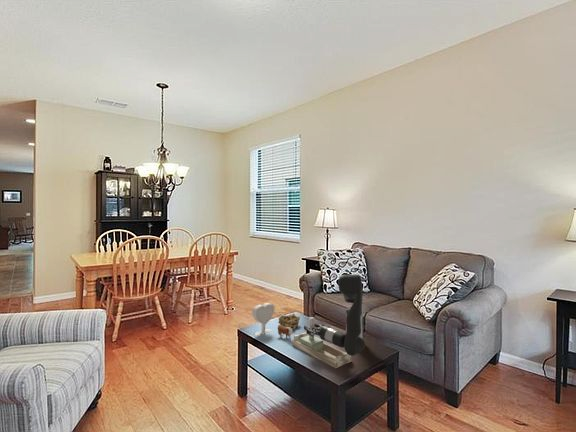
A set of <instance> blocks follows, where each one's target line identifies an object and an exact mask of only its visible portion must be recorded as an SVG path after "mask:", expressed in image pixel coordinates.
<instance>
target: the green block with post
mask: <svg viewBox="0 0 576 432" xmlns="http://www.w3.org/2000/svg"><path fill="white" fill-rule="evenodd" d="M308 319H309V321H308V327H310V328H313V327H315V321H316V318H315V317H313V316H310V317H308ZM310 330H312V329H310ZM307 335H308V336H305V337H302V338H300V343H302V344H304V345H306V346H308V347H310V348H312V349H314V350H316V351H319V350H322V349H323V342H324V340H322V339H321V338H320V337H317V336H316V335H314V336H313V337H312V336H310V335H309V334H307Z"/></svg>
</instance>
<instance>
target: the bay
mask: <svg viewBox="0 0 576 432" xmlns="http://www.w3.org/2000/svg"><path fill="white" fill-rule="evenodd" d="M308 335H309V334H307V333H306V331H305V332H302V333H299V334H296V335H293V339H292V341H291V344H292V347H295V348H297V349H299V350H301V351H302V352H304V353H307V354H309V356H312V357H314V358H315V359H317V360H319V361H321V362H323V363H326V364H327V365H328V366H331V367H332V368H334V369H337V368H339V367H343V366H344V365H346V364H348V363H350V362H351V363H352V360H353V359H352V358H353V356H350V355H348V354H347V353H346V351H344V350H343V351H342V350H341V349H339V348H337V347H334V346H332V345H331V344H329V343H326V342H324V341H323V349H322V350H319V351H316V350H314V349H312V348H310V347H308V346H306V345H304V344H302V343H300V338H302V337H305V336H308Z"/></svg>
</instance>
